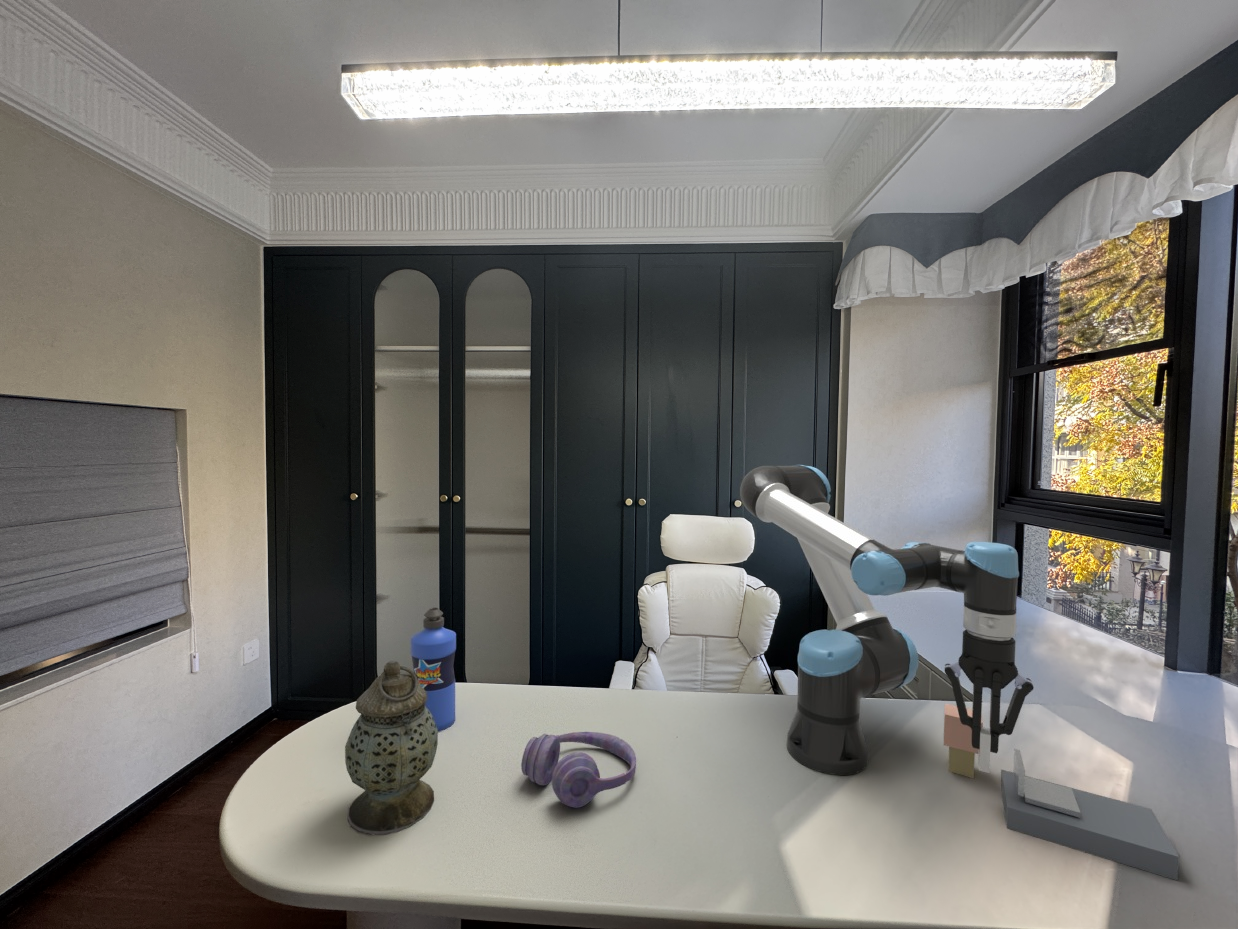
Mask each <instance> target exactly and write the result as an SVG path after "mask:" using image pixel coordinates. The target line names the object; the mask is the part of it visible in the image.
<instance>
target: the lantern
mask: <svg viewBox="0 0 1238 929" xmlns="http://www.w3.org/2000/svg"><path fill="white" fill-rule="evenodd" d="M426 701H427V692H426V691H425V690H424V689H423V688H422V687H421V686H420V685H419V684H418V680H417V677H416V675H415V674H414V670H412V669H411V668H408V667H406V666H402V665H401V664H400V663H399V662H398V661H396V660H389V661H388V662H387V663H385V664H384V667H383V671H382V673H381V674H380V675H379V676H377V677H376V678H375V680H374V681H373V682H372V683H371V685H370V686H369V687H368V688H367V689H366V690H365V691H363V693H362V694H361V695H360V696H359V697H358V698H357V699H356V701H355V710H356V711H357V713H358V714H360V715H359V717H358V718H357V720H356V721H355V723H354V724H353V727H352V729H351V730H350V733H349V735H348V739H347V741H346V744H345V745H344V758H345V759H344V761H345V767H346V771H347V774H348V775H349V778H350V780H351V783H353V785H354V784H355V785H356V786H358V787H359V788H361V789H363V792H362V793H360V794H359V795H358V796H357V797H356V798H355V799H354V800H353V801H352V802H351V803H350V805H349V807H348V808H347V822H348V823H349V826H350V828H351V829H352V830H354V831H355V832H357V833H358V834H364V835H367V836H384V835H389V834H394V833H397V832H401V831H402V830H405V829H407V828H409V827H412V826H413V825H414V824H416V823H418V822H419V821H421V820H422V819H423V818H425V817H426V816H427V814H428V813H429V812H430V811H431V810H432V807H433V805H434V803H435V795H434V794H435V793H434V792H435V791H434V790H433V788H432V787H431V785H430V784H428V783H426V782H425V781H422V780H421V779H422V778H423V777H424V776H425V775H426V774H427V772H428V771H429V770H430V769H431V768H432V766H433V764H434V763H433V762H434V760H435V757H436V754H437V751H438V750H437V749H438V744H439V743H438V740H439V739H438V735H439V732H438V729H437V727H436V724H435V721H434V719H433V716H432V715H431V713H430V711H429V710H428V709H427V707H426V706H425V702H426Z"/></svg>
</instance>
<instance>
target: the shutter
mask: <svg viewBox="0 0 1238 929" xmlns="http://www.w3.org/2000/svg"><path fill="white" fill-rule="evenodd" d="M1022 756H1023V755H1022V753H1021V750H1020V749H1018V748H1017V749H1016V748H1013V767H1012V768H1013V769H1012V770H1013V771H1012V772H1013V775H1014V780H1015V784H1016V789H1017V794H1018V795H1019V796H1022V797H1024V799H1025V802H1027V803H1030V804H1034V805H1037V806H1041V807H1044V808H1048V809H1051V810H1055V811H1058V812H1062V813H1065V814H1069V815H1072V816H1076V817H1080V816H1081V812H1080V810H1079V807H1078V804H1077V802H1076V799H1075V796H1074V794H1073V791H1072V789H1071V788H1072V787H1070V788H1067V787H1068V786H1067V787H1064V786H1065V785H1063V786H1060V785H1061V784H1059V785H1056V784H1057V783H1055V784H1052V783H1053V782H1051V783H1048V782H1049V781H1048V782H1045V781H1046V780H1044V781H1041V780H1042V779H1040V780H1037V779H1038V778H1036V779H1033V778H1034V777H1032V778H1029V777H1030V776H1028V777H1026V776H1027V775H1026V769H1025V765H1024V761H1023V757H1022Z"/></svg>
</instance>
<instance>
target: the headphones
mask: <svg viewBox="0 0 1238 929" xmlns="http://www.w3.org/2000/svg"><path fill="white" fill-rule="evenodd" d="M562 743H577V744H579V743H580V744H585V745H588V746H589V745H590V746H594V747H598V748H600V749H602V750H605V751H607V752H609V753H611V754H614V755H615V756H617V757H619V758H621V759H622V760H624V761H625V762H627V763H628V764H629V765H630V769H629V770H628V771H627V772H626V773H625V772H622V773H621V774H617V775H615V776H611V777H605V778H601V772H600V771H599V768H598V765H597V762H596V760H594V758H593V757H592V756H591V755H589V754H588V753H585V752H581V751H574V752H570V753H568V754H566V755H565V756H563V757H562V758H561V759H560V754H561V744H562ZM559 759H560V760H559ZM520 766H521V772H522V775H523V776H527V777H528V779H529V781H530V782H531V783H535V784H537V785H539V786H547V785H548V784H549V783H550V782H551V787H552V790H553V793H554V795H555V796H556V797H557V799H558V800H559V802H561V803H562V804H563V805H564V806H568V807H571V808H581V807H584V806H585V805H587V804H589V803H590V802H591V801H592V800H593V798H594V797H596V795H598V794H599V793H600V792H604V791H607V790H613V789H617V788H619V787H621V786H623V785H626V783H628V782H629V781H631V780H632V779H633V778H634V776H635V774H636V768H637V756H636V753H635V750H634V749H633V747H632V746H631V745H630V744H629V743H628V742H626V741H625V740H624V739H622V738H620V737H618V736H616V735H613V734H609V733H604V732H595V731H578V732H569V733H564V734H560V735H558V734H556V735H554V734H546V733H543V734H542V735H540V736H539V737H537V736H533V737H531V738H530V739H529V740H528V742H527V744H526V746H525V748H524V750H523V755H522V759H521V765H520Z"/></svg>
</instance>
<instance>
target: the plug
mask: <svg viewBox="0 0 1238 929" xmlns="http://www.w3.org/2000/svg"><path fill="white" fill-rule="evenodd" d="M966 709H967V714H968V716H970V717H972V708H967V707H966ZM943 712H944V713H943V714H944V715H943V716H944V717H943V746H945V747H948V761H947V762H948V772H951V773H954V774H957V775H961V776H964V777H968V778H972V779H975V778H974V777H975V757H976V755H975V754H977V755H979V749H976V748H973V746H972V742H971V739H972V729H971V728H970V727H969V726H967V725H963V724H962V723H961V721H960V717H959V713H958V709H957V705H953V704H949V703H944V711H943ZM982 714H983V713H982V712H981V727H984V722H983V715H982Z"/></svg>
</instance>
